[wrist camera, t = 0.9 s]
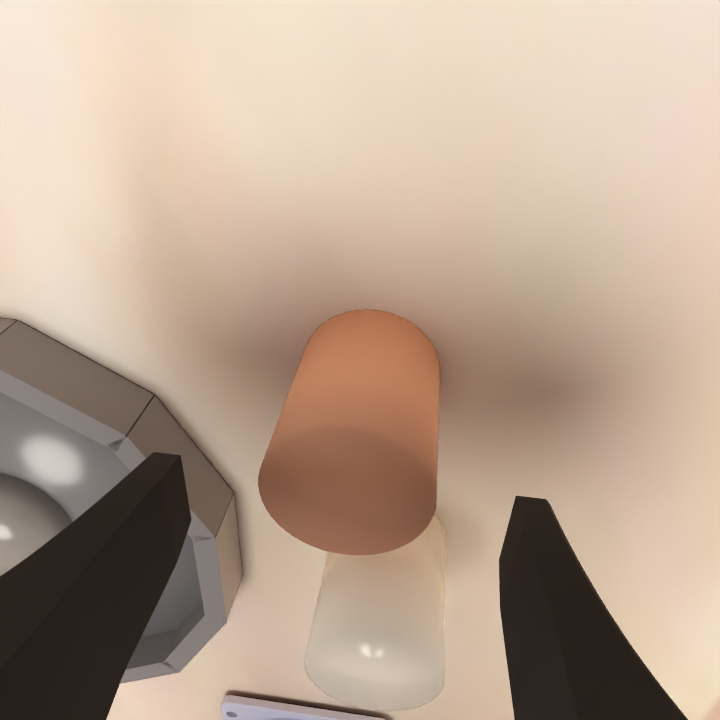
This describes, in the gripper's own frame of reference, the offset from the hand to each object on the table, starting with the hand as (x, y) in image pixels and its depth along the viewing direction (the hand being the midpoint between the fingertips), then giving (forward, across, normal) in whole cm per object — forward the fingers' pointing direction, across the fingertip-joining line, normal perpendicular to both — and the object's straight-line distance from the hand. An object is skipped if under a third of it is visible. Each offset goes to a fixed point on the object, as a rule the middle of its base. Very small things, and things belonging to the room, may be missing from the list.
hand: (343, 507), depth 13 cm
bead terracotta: (+5, 0, 0) cm, 5 cm away
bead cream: (+5, -1, +7) cm, 9 cm away
